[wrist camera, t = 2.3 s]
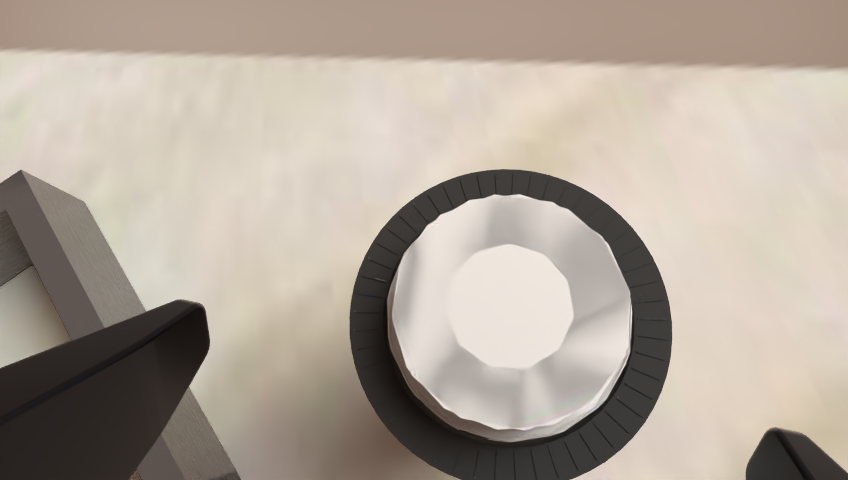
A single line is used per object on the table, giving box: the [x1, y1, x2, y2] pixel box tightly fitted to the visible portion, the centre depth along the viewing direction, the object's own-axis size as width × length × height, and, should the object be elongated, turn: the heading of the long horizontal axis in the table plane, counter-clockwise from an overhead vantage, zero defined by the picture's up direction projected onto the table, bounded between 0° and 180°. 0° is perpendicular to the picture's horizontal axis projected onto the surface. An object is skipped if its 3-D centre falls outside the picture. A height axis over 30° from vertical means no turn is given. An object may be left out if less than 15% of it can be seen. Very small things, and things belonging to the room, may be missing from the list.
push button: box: [350, 169, 672, 480], centre depth 13 cm, size 7×5×10 cm
